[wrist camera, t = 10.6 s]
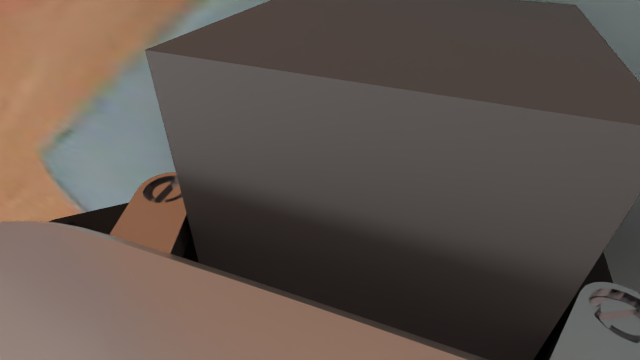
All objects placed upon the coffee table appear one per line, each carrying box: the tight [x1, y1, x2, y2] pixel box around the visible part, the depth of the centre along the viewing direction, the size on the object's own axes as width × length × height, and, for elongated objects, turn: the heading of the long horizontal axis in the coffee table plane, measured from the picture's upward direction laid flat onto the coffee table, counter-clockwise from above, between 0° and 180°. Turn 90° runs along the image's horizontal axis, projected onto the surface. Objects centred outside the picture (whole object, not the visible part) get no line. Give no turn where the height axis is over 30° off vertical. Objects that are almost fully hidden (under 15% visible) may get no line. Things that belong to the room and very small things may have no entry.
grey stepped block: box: [145, 0, 640, 360], centre depth 10 cm, size 6×13×6 cm, turn 179°
